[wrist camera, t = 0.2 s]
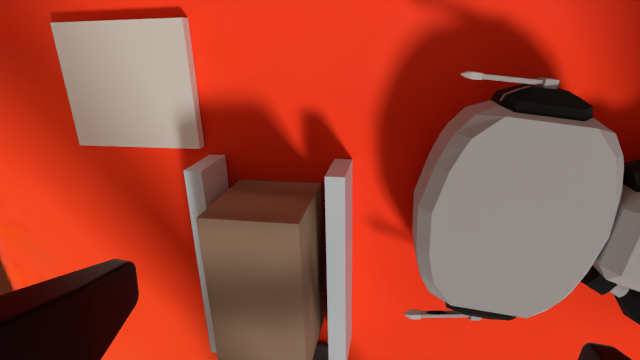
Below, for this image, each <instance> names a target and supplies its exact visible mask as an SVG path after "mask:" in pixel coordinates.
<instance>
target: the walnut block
mask: <svg viewBox="0 0 640 360" xmlns="http://www.w3.org/2000/svg"><path fill="white" fill-rule="evenodd" d="M196 221H197V228H198V234H199V241H200V247H201V254H202V260H203V267H204V273H205V280H206V286H207V293H208V299H209V306H210V312H211V319H212V325H213V332H214V338H215V345H216V351H217V358H218V360H313V356H314V352H315V349H316V345H317V342H318V338H319V334H320V331H321V327H322V324H323V320H324V316H325V313H326V307H325V276H324V245H323V214H322V183H314V182H289V181H263V180H239V181H237V182H236V183H235V184H234V185H233V186H232V187H231V188H229V189H228V190H227V191H226V192H225V193H224V194H223V195H222V196H220V197H219V198H218V199H217V200H216V201H215V202H214V203H212V204H211V205H210V206H209V207H208V208H207V209H206V210H205V211H203V212H202V213H201V214H200V215H199V216H198V217H197V218H196Z"/></svg>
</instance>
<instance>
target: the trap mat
mask: <svg viewBox="0 0 640 360" xmlns="http://www.w3.org/2000/svg"><path fill="white" fill-rule="evenodd" d="M313 360H329V355H328V344H327V343H319V342H317V345H316V349H315V352H314V356H313Z"/></svg>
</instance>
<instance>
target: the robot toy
mask: <svg viewBox="0 0 640 360" xmlns="http://www.w3.org/2000/svg"><path fill="white" fill-rule="evenodd" d="M461 75H462V76H464V77H465V78H469V79H475V80H482V79H486V80H496V81H505V82H515V83H525V84H522V85H518V86H514V87H509V88H505V89H501V90H497V91H496V93H495V94H494V95H493V97H492V98H491V100H488V101H485V102H481V103H478V104H474V105H470V106H467V107H465V108H463V109H462V110H461V111H460V112H459V113H458V114H457V115H456V116H455V117H454V118H453V119H451V120H450V121H449V122H448V123H447V125H446V126H445V127H444V129H443V130H442V132H441V133H440V134H439V136H438V138H437V140H436V142H435V144H434V145H433V147H432V149H431V151H430V153H429V155H428V157H427V160H426V162H425V165H424V167H423V170H422V172H421V175H420V177H419V180H418V182H417V185H416V187H415V190H414V201H413V224H412V230H413V241H414V248H415V253H416V258H417V263H418V268H419V272H420V276H421V278H422V280H423V281H424V283H425V285H426V287H427V289H428V291H429V292H430V293H432V294H433V295H435V296H436V297H438V298H440V299H441V300H443V301H445V304H446V307H447V308H450V309H452V310H454V311H419V310H409V311H407V312H406V313H405V314H403V315H405V316H407V317H408V318H410V319H421V318H451V317H468V318H469V319H470V320H481V319H482V318H486V319H499V320H512V319H515V318H516V317H523V318H528V317H531V316H534V315H536V314H539V313H542V312H544V311H546V310H548V309H549V308H551V307H552V306H554V305H556V304H557V303H559V302H560V301H562V300H563V299H564V298H565V297H567V296H568V295H569V294H570V293H571V292H572V291H573V290H574V288H575V287H576V286H577V285H578V284H579V282H580V281H581V282H582V283H584V284H585V285H587V286H588V287H590V288H592V289H593V290H595V291H596V292H598V293H599V294H601V295H603V294H605V293H608V292H611V293H613V294H614V296H615V298H616V300H617V302H618V304H619V306H620V308H621V310H622V312H623V314H624V315H626V316H627V317H629V318H630V319H632V320H633V321H635V322H636V323H638V324H640V159H639V160H635V161H631V162H627V163H624V158H623V153H622V150H621V147H620V144H619V141H618V138H617V135H616V133H614V132H613V131H612V130H610V129H609V128H607V127H606V126H604V125H603V124H601V123H600V122H599V121H597V120H596V119H594V118H593V106H591V105H590V104H588V103H587V102H585V101H584V100H582V99H581V98H579V97H578V96H576V95H574V94H572V93H571V92H569V91H566V90H563V89H559V88H558V84H559V81H560V80H556V79H552V78H543V77H538V78H537V79H529V78H520V77H510V76H501V75H491V74H483V73H480V72H473V71H466V72H463V73H461ZM528 84H535V85H528Z"/></svg>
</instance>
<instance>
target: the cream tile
mask: <svg viewBox="0 0 640 360" xmlns="http://www.w3.org/2000/svg"><path fill="white" fill-rule="evenodd" d="M50 24H51V28H52V32H53V37H54V41H55V45H56V49H57V53H58V57H59V61H60V66H61V70H62V74H63V78H64V82H65V86H66V90H67V94H68V99H69V103H70V107H71V111H72V115H73V119H74V123H75V127H76V132H77V136H78V140H79V144H80V145H87V146H120V147H152V148H185V149H201V148H202V147H204V138H203V130H202V122H201V115H200V107H199V99H198V92H197V84H196V76H195V68H194V61H193V53H192V45H191V38H190V30H189V22H188V18H183V17H180V18H155V19H129V20H104V21H79V22H53V23H50Z"/></svg>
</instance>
